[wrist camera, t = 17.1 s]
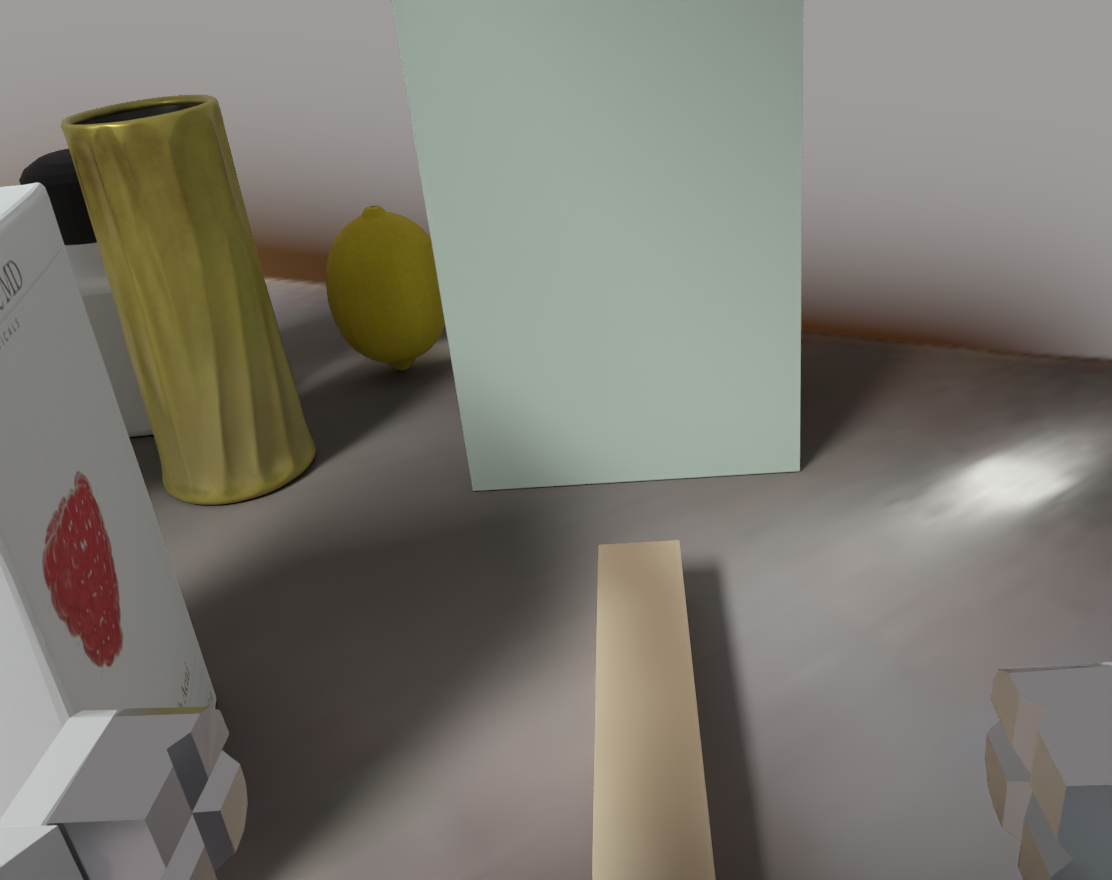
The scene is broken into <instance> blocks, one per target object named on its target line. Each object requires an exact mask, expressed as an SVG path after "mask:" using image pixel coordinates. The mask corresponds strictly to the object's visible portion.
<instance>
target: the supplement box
mask: <svg viewBox="0 0 1112 880" xmlns="http://www.w3.org/2000/svg"><path fill="white" fill-rule="evenodd" d="M215 706H216V695H215V692H214V689H213V686H212V683H211V680H210V677H209V674H208V671H207V668H206V665H205V662H204V659H203V656H202V653H201V650H200V647H199V644H198V641H197V638H196V635H195V632H194V629H193V626H192V623H191V620H190V617H189V614H188V611H187V608H186V605H185V602H184V599H183V595H182V592H181V589H180V587H179V584H178V581H177V578H176V575H175V572H174V569H173V566H172V563H171V560H170V557H169V554H168V550H167V547H166V544H165V542H164V539H163V536H162V533H161V530H160V528H159V524H158V521H157V518H156V515H155V512H154V509H153V506H152V503H151V500H150V497H149V494H148V491H147V488H146V485H145V482H144V479H143V477H142V474H141V471H140V468H139V465H138V462H137V459H136V456H135V453H134V450H133V447H132V445H131V442H130V439H129V436H128V433H127V430H126V427H125V424H124V421H123V418H122V415H121V412H120V409H119V406H118V403H117V400H116V397H115V394H114V391H113V388H112V385H111V382H110V379H109V376H108V373H107V370H106V367H105V364H104V361H103V358H102V356H101V353H100V350H99V347H98V344H97V341H96V338H95V335H94V332H93V329H92V326H91V323H90V321H89V318H88V315H87V312H86V309H85V306H84V303H83V300H82V297H81V294H80V291H79V288H78V285H77V282H76V279H75V276H74V273H73V270H72V267H71V264H70V260H69V257H68V254H67V251H66V248H65V245H64V242H63V239H62V236H61V233H60V230H59V227H58V224H57V221H56V217H55V214H54V211H53V208H52V205H51V202H50V198H49V196H48V193H47V191H46V188H45V186H43V185H42V184H41V183H31V184H25V185H17V186H7V187H0V819H1V817H2V816H3V814H4V813H5V811H6V810H7V808H8V807H9V805H10V804H11V803H12V801H13V800H14V798H15V797H16V795H17V794H18V792H19V791H20V789H21V788H22V786H23V785H24V783H25V782H26V781H27V779H28V778H29V776H30V775H31V773H32V772H33V770H34V769H35V767H36V766H37V764H38V763H39V761H40V760H41V759H42V757H43V756H44V754H45V753H46V751H47V750H48V748H49V747H50V745H51V744H52V742H53V741H54V739H55V738H56V737H57V735H58V734H59V732H60V731H61V729H62V728H63V726H64V725H65V723H66V722H67V720H68V719H69V718H70V717H72V716H74V715H75V714H77V713H79V712H81V711H82V710H124V709H128V708H171V707H212V708H215Z"/></svg>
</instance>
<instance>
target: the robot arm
mask: <svg viewBox="0 0 1112 880" xmlns="http://www.w3.org/2000/svg"><path fill="white" fill-rule="evenodd" d="M991 701H992V703H993V705H994V708H995V710H996V712H997V714H998V717H999V719H1000V721H999V722H998V723H997V724H996V725H995V726H994V727H993V728H992V729H991V730H990V731H989V732H988V733H987V740H986V753H985V763H986V772H987V781H988V788H989V791H990V795H991V799H992V802H993V806H994V809H995V811H996V814H997V817H998V819H999V822H1000V824H1001V827H1002V829H1004V830H1005V831H1006V832H1008V833H1009V834H1010V835H1012V836H1013V837H1014V838H1016V839H1017V840H1018V841H1020V842H1021V846H1020V854H1019V861H1018V868H1019V870H1020V873H1021V875H1022V877H1023V880H1112V662H1104V663H1102V664H1080V665H1062V666H1043V667H1025V668H1007V669H998V671H997V673H996V675H995V678H994V680H993V687H992V694H991ZM228 736H229V731H228V729H227V726H226V724H225V721H224V719H223V716H222V714H221V711H220V710H217V709H215V708H212V707H171V708H128V709H124V710H82V711H81V712H79V713H77V714H75V715H74V716H72V717H70V718H69V719H68V720H67V722H66V723H65V725H64V726H63V728H62V729H61V731H60V732H59V734H58V735H57V737H56V738H55V739H54V741H53V742H52V744H51V745H50V747H49V748H48V750H47V751H46V753H45V754H44V756H43V757H42V759H41V760H40V761H39V763H38V764H37V766H36V767H35V769H34V770H33V772H32V773H31V775H30V776H29V778H28V779H27V781H26V782H25V783H24V785H23V786H22V788H21V789H20V791H19V792H18V794H17V795H16V797H15V798H14V800H13V801H12V803H11V804H10V805H9V807H8V808H7V810H6V811H5V813H4V814H3V816H2V817H1V819H0V880H217V877H216V875H215V872H214V871H215V870H217V869H218V868H219V867H220V866H221V865H222V864H224V863H225V862H226V861H227V860H228V859H229V858H231V857H232V856H233V855H234V854H235V853H236V851H237V848H238V845H239V843H240V840H241V837H242V835H243V832H244V828H245V821H246V813H247V805H248V799H247V789H246V781H245V778H244V775H243V772H242V769H241V766H240V764H239V763H238V762H237V761H235V760H234V759H233V758H231V757H230V756H229V755H228V754H226V753H225V752H224V751H223V750H222V749H223V747H224V744H225V742H226V740H227V738H228Z"/></svg>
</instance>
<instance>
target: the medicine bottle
mask: <svg viewBox="0 0 1112 880" xmlns="http://www.w3.org/2000/svg"><path fill="white" fill-rule="evenodd" d="M19 181H20V184H21V185H25V184H31V183H41V184H42V185H43V186H45V188H46V191H47V193H48V196H49V198H50V202H51V205H52V208H53V211H54V214H55V217H56V221H57V224H58V227H59V230H60V233H61V236H62V239H63V242H64V245H65V248H66V251H67V254H68V257H69V260H70V264H71V267H72V270H73V273H74V276H75V279H76V282H77V285H78V288H79V291H80V294H81V297H82V300H83V303H84V306H85V309H86V312H87V315H88V318H89V321H90V323H91V326H92V329H93V332H94V335H95V338H96V341H97V344H98V347H99V350H100V353H101V356H102V358H103V361H104V364H105V367H106V370H107V373H108V376H109V379H110V382H111V385H112V388H113V391H114V394H115V397H116V400H117V403H118V406H119V409H120V412H121V415H122V418H123V421H124V424H125V427H126V430H127V433H128V436H129V437H135V436H145V435H153V432H152V429H151V426H150V423H149V420H148V417H147V413H146V410H145V407H144V403H143V399H142V396H141V392H140V388H139V385H138V381H137V378H136V375H135V372H134V369H133V365H132V362H131V359H130V356H129V352H128V349H127V345H126V342H125V338H124V334H123V330H122V326H121V322H120V318H119V314H118V311H117V307H116V304H115V301H114V298H113V295H112V292H111V288H110V285H109V282H108V278H107V274H106V271H105V267H104V263H103V259H102V256H101V252H100V249H99V246H98V243H97V240H96V236H95V233H94V230H93V227H92V223H91V220H90V217H89V213H88V210H87V207H86V203H85V200H84V196H83V193H82V190H81V186H80V183H79V180H78V176H77V173H76V170H75V166H74V163H73V160H72V157H71V153H70V150H69V148H67V149H63V150H59V151H56V152H52V153H49V154H47V155H44V156H42V157H40V158H38V159H37V160H36V161H34V162H33V163H32V164H30V165H29V166H28V167H27V168H25V169H24V171H23V173H22V175H21V177H20V180H19Z"/></svg>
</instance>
